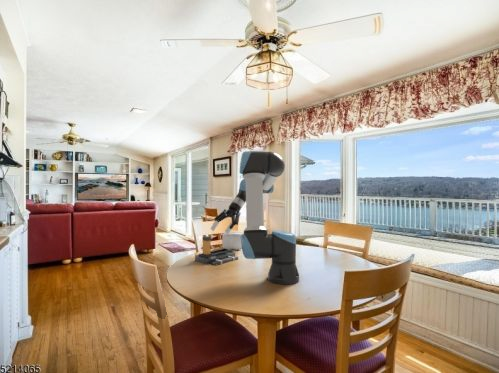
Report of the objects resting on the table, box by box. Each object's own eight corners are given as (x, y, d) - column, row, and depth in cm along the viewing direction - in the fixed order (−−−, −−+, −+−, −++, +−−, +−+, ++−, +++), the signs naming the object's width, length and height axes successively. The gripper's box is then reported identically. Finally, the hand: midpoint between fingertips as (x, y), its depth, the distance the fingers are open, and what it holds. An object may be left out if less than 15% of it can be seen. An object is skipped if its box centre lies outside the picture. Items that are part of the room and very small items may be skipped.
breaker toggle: (207, 254, 170) (207, 235, 170) (211, 255, 167) (212, 236, 167) (201, 255, 167) (201, 236, 166) (206, 257, 164) (206, 237, 164)
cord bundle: (233, 257, 175) (233, 255, 175) (238, 259, 172) (238, 256, 172) (210, 263, 161) (210, 260, 161) (216, 265, 158) (216, 262, 158)
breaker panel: (222, 253, 184) (222, 247, 184) (235, 257, 176) (235, 250, 176) (195, 260, 168) (195, 253, 168) (208, 264, 160) (208, 257, 160)
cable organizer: (245, 247, 205) (246, 231, 205) (242, 250, 194) (242, 233, 194) (226, 245, 208) (226, 230, 208) (221, 249, 198) (221, 232, 198)
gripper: (253, 210, 179) (236, 237, 168) (226, 208, 196) (209, 232, 185) (247, 202, 175) (229, 229, 164) (220, 200, 192) (203, 225, 181)
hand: (219, 231), depth 174 cm, fingers open, 13 cm apart
